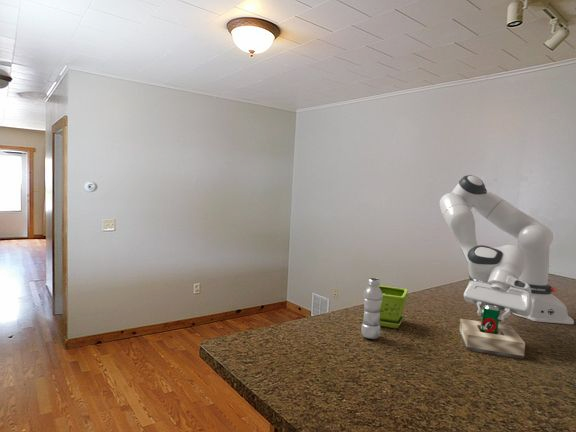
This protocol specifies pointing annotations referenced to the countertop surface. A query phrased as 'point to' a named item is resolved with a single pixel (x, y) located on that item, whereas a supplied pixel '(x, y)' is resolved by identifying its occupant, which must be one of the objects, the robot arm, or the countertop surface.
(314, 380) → the countertop surface
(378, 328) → the plastic bottle
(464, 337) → the can holder
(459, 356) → the countertop surface
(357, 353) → the countertop surface
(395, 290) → the flower pot
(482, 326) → the soda can
